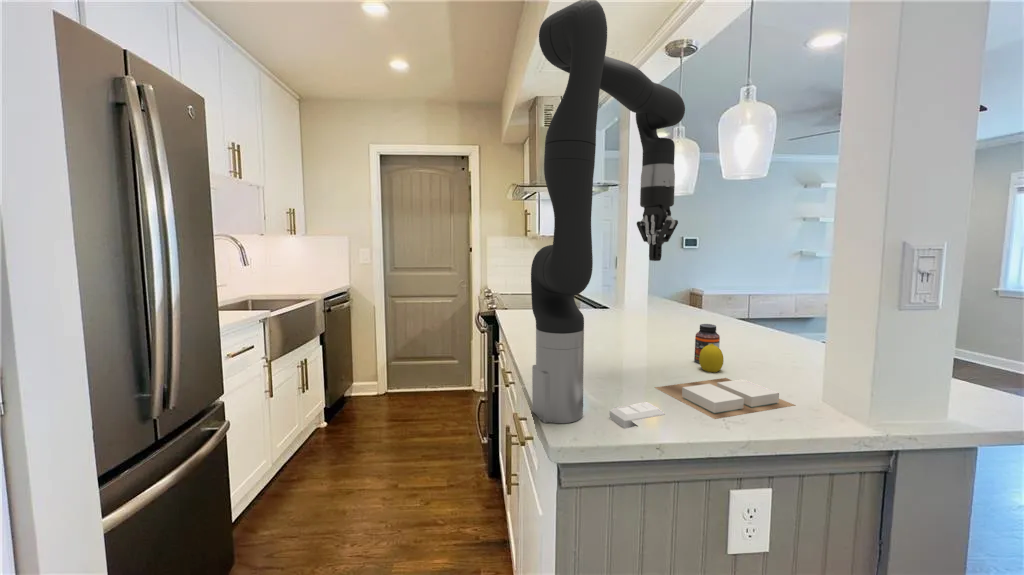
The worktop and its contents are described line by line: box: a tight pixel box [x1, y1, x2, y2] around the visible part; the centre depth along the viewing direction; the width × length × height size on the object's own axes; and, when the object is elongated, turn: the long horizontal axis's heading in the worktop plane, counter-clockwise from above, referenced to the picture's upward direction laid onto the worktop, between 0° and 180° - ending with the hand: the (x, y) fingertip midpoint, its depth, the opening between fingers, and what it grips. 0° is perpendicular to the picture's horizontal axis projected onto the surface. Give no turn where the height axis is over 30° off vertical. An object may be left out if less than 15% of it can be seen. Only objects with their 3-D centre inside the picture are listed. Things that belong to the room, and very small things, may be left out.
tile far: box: [717, 378, 780, 408], centre depth 91 cm, size 7×2×9 cm
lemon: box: [699, 344, 724, 373], centre depth 110 cm, size 6×6×8 cm
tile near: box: [682, 384, 744, 414], centre depth 88 cm, size 7×2×9 cm
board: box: [654, 377, 796, 420], centre depth 93 cm, size 20×18×1 cm
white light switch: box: [609, 401, 666, 429], centre depth 84 cm, size 5×9×3 cm, turn 111°
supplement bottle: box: [693, 323, 721, 365], centre depth 117 cm, size 6×6×11 cm
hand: (655, 260), depth 104 cm, fingers closed
